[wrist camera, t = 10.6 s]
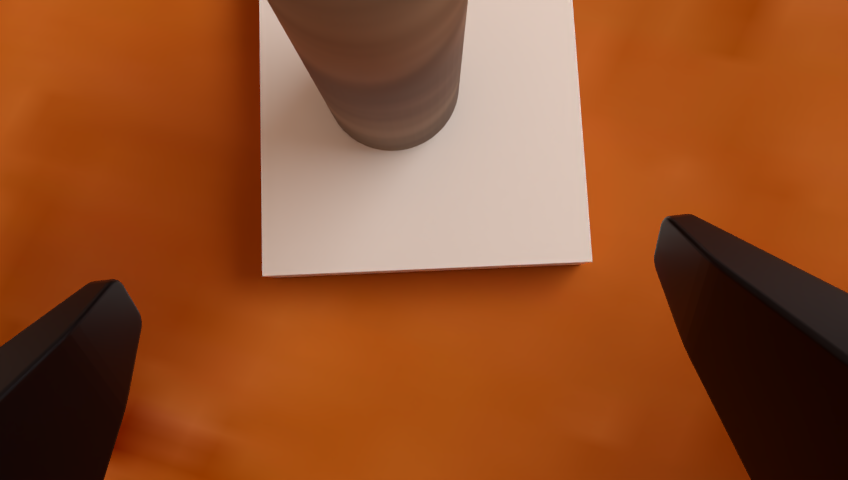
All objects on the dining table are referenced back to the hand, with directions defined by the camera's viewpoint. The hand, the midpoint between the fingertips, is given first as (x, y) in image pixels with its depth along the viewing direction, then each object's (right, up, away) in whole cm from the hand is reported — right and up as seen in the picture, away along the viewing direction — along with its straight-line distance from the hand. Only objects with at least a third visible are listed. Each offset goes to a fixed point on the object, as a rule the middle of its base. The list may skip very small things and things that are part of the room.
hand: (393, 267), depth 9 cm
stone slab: (0, +7, +13) cm, 15 cm away
